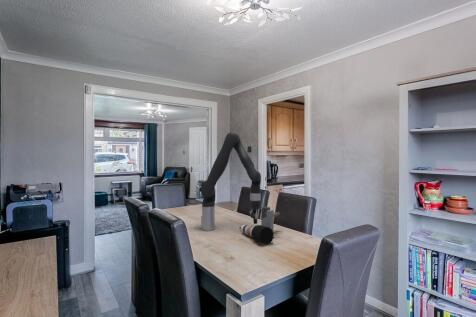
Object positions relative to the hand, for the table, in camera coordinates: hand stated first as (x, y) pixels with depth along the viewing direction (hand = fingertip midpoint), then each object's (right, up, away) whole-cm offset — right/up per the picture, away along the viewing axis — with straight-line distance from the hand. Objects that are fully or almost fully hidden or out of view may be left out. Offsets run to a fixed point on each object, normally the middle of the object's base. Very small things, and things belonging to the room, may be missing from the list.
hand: (255, 223), depth 184 cm
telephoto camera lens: (-3, -7, -12) cm, 14 cm away
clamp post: (+7, -6, -11) cm, 14 cm away
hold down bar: (+11, +6, -5) cm, 13 cm away
